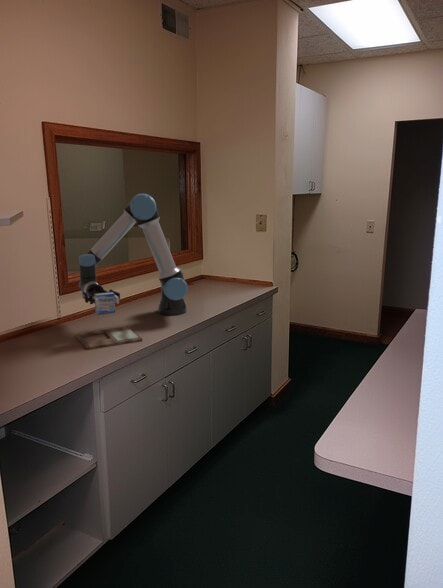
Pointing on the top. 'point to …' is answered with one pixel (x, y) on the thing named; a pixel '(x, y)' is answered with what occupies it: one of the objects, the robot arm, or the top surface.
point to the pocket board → (115, 335)
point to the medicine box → (105, 303)
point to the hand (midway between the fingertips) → (108, 301)
